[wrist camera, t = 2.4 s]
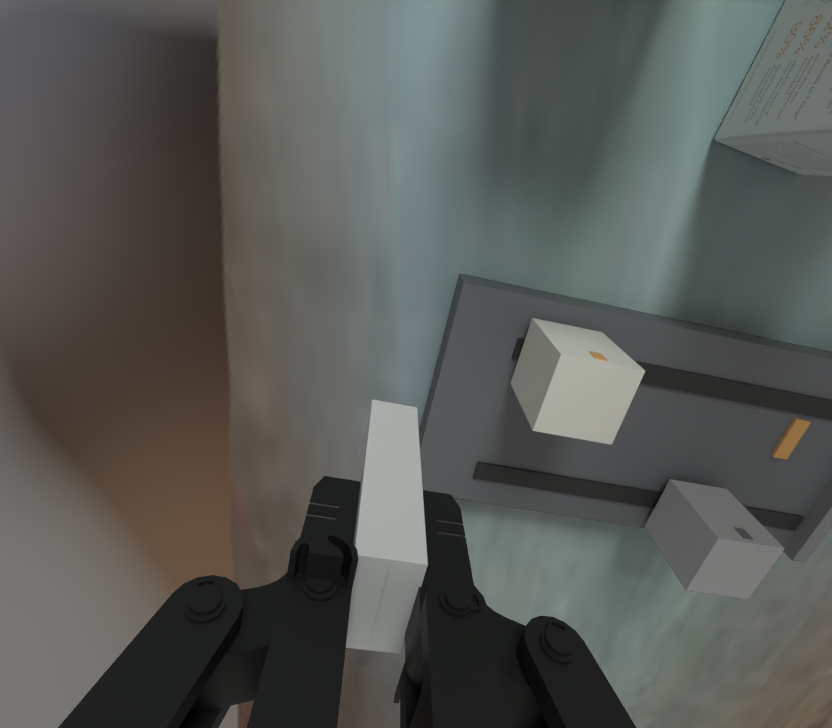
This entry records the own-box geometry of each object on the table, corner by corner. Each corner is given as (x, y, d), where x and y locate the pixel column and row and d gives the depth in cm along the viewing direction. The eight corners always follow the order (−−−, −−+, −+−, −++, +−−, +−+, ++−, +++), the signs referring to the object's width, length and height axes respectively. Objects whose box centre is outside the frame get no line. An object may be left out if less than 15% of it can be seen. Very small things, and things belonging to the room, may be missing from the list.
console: (459, 273, 26) (466, 287, 24) (887, 364, 29) (937, 385, 27) (408, 471, 32) (409, 501, 29) (773, 530, 35) (805, 562, 32)
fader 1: (532, 317, 25) (561, 353, 20) (602, 331, 25) (645, 369, 21) (510, 384, 26) (532, 431, 22) (576, 396, 27) (611, 445, 22)
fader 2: (670, 478, 30) (719, 537, 25) (727, 488, 30) (785, 548, 25) (644, 527, 31) (685, 590, 27) (698, 535, 32) (748, 600, 27)
